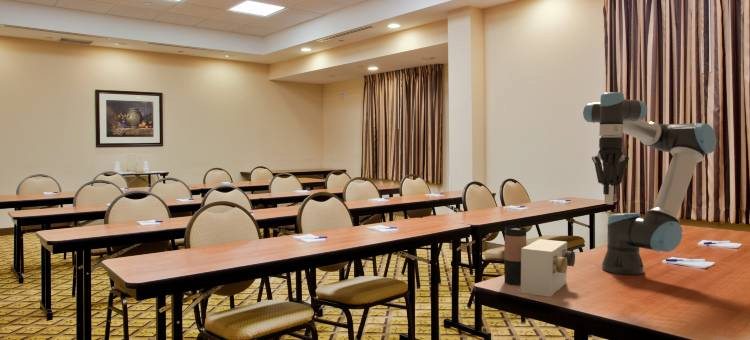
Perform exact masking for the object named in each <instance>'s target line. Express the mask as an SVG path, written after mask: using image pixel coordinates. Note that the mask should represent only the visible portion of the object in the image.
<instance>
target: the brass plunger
mask: <svg viewBox="0 0 750 340" xmlns="http://www.w3.org/2000/svg"><path fill="white" fill-rule="evenodd" d="M553 271H556V272H559V273H566V274H567V272H566V271H568V266H567V258H566V257H553Z"/></svg>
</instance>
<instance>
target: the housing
mask: <svg viewBox="0 0 750 340" xmlns="http://www.w3.org/2000/svg"><path fill="white" fill-rule="evenodd" d="M562 251H568V241H565V240H564V241H563V240H551V239H543V238H542V239H541V238H539V239H536V240H535V241H533V242H531V243H529V244H528V245H527V244H526V246H525V247H523V248H521V285H520V294H521V293H523V294H527V295H528V294H530V295H533V296H534V295H535V296H542V297H548V298H551V297H552V296H554V293H555V292H556V291H557V290H558V291H560V290H561V288H562V287H564V285H566V283H567V271H568V270H567V271H566V273H559V272H556V271H553V257H562ZM558 291H557V292H558ZM557 292H556V293H557Z"/></svg>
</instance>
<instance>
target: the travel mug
mask: <svg viewBox="0 0 750 340" xmlns="http://www.w3.org/2000/svg"><path fill="white" fill-rule="evenodd" d="M525 246H527V227H520V228H517V227H515V226H506V227H505V228H504V254H503V255H504V257H503V258H504V259H503V260H504V261H503V264H504V265H503V266H504V268H503V269H504V272H503V273H504V275H503V277H504V283H505V284H506V285H509V286H521V248H523V247H525Z"/></svg>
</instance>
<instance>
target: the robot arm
mask: <svg viewBox="0 0 750 340" xmlns="http://www.w3.org/2000/svg"><path fill="white" fill-rule="evenodd" d="M582 115H583V118H584V120H585V121H586V122H587V123H593V124H595V123H599V133H598V136H600V137H599V138H598V148H599V150H598V153H597V155H595V156H592V157H591V160H592V161H593V163H594V167H595V174H596V177H597V178H596V179H597V183H598V184H601V185H602V186H603V189H602V190H603V192H602V193H603V195H604V197H605V198H604V205H605V204H606V205H614V195H616V193H617V192H616V189H617V188H616V187H617V186H619V184H622V181H623V178H624V173H625V169H626V165H627V163H628V161H629V160H630V157H629V156H626V155H624V152H623V150H622V149H623V141H624V139H623V137H622V136H624V135H623V134H625V135H628V136H630V137H633V138H634V139H637V140H639V141H640V143H641V144H643V145H645V146H648V147H650V148H653V149H656V150H658V151H661V152H666V153H669V154H671V156H672V158H671V160H670V163H669V166H668V169H667V171H666V172H665V176H664V178H663V181H662V183H661V186H660V189H659V191H658V194H657V197H656V198H655V200H654V201H655V202H654V205H653V206H652V208H651V209H648V210H647V211H646V213H645V215H644V217H642V216H641V213H639V212H625V213H624V212H623V213H620V212H619V213H612V214H610V215H608V220H607V246H606V247H607V249H606V252H605V255H604V257H603V260H602V264H601V269H602V270H603V271H606V272H609V273H612V274H613V273H614V274H618V275H620V274H621V275H641V274H644V270H645V268H644V267H645V266H644V263H643V261H642V257H641V254H640V248H641V249H645V250H651V251H655V252H657V253H658V252H664V253H670V252H671V251H674V250H676V249H677V247H678V246H679V245H680V243H681V241H682V239H683V228H682V227H683V226H682V225H680V223H681V222H680V219H679V218H678V215H679V212H680V210H681V207H682V204H683V202H684V199H685V197H686V194H687V190H688V188H689V186H690V182H691V180H692V177H693V175H694V172H695V169H696V167H697V164H698V163H701V162H702V161H703V160H704V158H705V156H706V154H712V153H713V152H714V151H715V149H716V146H717V136H716V132H715V130H714V128H713V127H712V126H711V125H710V124H708V123H705V122H704V123H701V122H695V123H668V124H667V123H666V124H665V123H663V124H662V123H657V122H655V121H654V122H653V121H650V122H649V121H647V120H644V119H645V118H646V116H647V115H648V106H647V104H646V103H645V101H643V100H638V99H626V98H625V96H624V92H619V91H615V92H614V91H612V92H603V93H602V94H601V95H600V101H598V102H596V101H595V102H590V103H587V104H586V105H585V106H584V107H583V111H582ZM601 161H602V162H601Z"/></svg>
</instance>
